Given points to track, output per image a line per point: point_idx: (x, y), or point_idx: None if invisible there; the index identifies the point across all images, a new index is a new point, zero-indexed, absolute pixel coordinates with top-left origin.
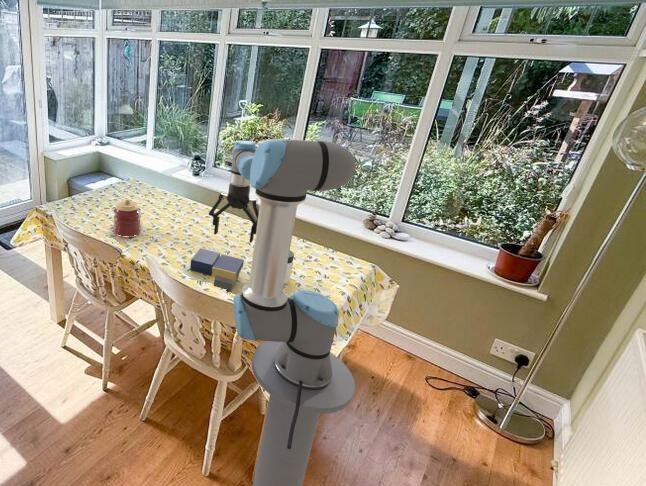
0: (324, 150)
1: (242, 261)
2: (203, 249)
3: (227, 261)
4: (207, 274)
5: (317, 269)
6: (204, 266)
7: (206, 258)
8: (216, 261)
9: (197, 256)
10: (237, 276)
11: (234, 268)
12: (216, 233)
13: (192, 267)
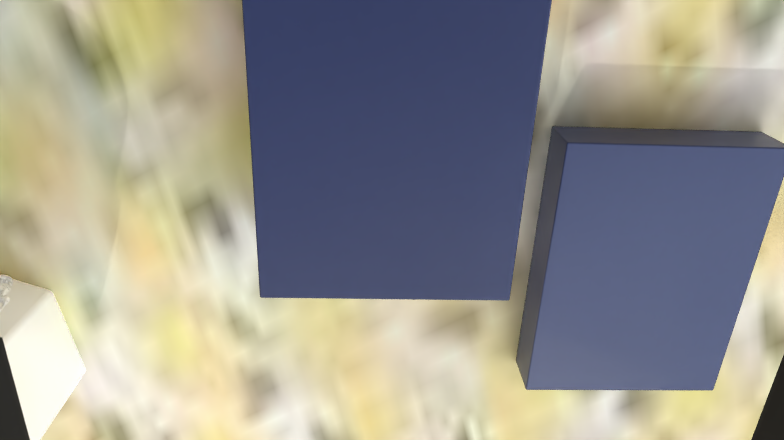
0: None
1: (261, 252)
2: (682, 382)
3: (415, 174)
4: None
5: None
6: (627, 132)
7: (637, 240)
8: (530, 278)
9: (729, 237)
10: None
11: (295, 42)
12: (778, 390)
13: None
